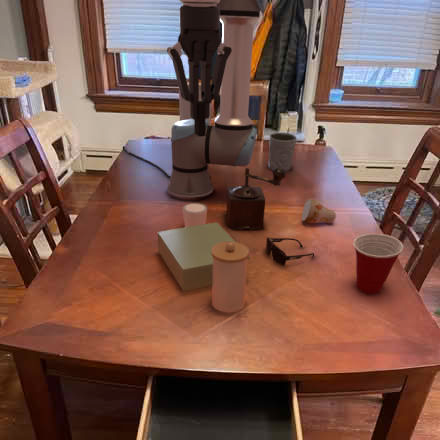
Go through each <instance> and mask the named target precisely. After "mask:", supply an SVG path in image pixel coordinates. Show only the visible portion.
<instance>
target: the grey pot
mask: <svg viewBox="0 0 440 440" xmlns="http://www.w3.org/2000/svg"><path fill="white" fill-rule="evenodd" d="M268 141H269V142H268V143H269V147H268V148H269V149H268V166H267V167H268V169H269V170H271V171H273V169H274V168H277V167H280V168H283V169H284V170H285V171H286V172H289V171H290V170H291V169H292V164H293V163H292V162H293V161H292V160H293V158H294V151H295V147H296V143H297V136H296V135H294V134H292V133H287V132H274V133H273V132H272V133H271V134H269V140H268Z"/></svg>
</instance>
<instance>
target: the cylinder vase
mask: <svg viewBox="0 0 440 440" xmlns="http://www.w3.org/2000/svg"><path fill="white" fill-rule="evenodd" d="M188 89H189V84H188ZM199 101H202V99H201V84H199ZM178 102H179V103H178V104H179V105H178V106H179V121H182V120H187V119H192V118H191V116H190V102H189V101H186V100H184V99H183V98H182V97H181V94H180V90H179V89H178ZM206 120H208V123H209V125H210V126H212V102H211V103H210V116H209V118H208V119H206Z"/></svg>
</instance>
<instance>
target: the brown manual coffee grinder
mask: <svg viewBox="0 0 440 440" xmlns="http://www.w3.org/2000/svg"><path fill="white" fill-rule="evenodd" d="M244 171H245V172H244V177H245V179H244V184H243V185H240V186H227V192H226V213H225V218H226V224H227V228H228V229H230V230H232V231H254V230H265V229H264V227H265V226H264V222H265V221H264V220H265V210H266V209H265V208H266V197H265V193H264V191H263V189H262V187H261V186H252V185H249V178H250V179H254V180H259V181H264V182H268V183H270V184H271V185H273V186H274V187H275V186H281V185H282V183H281V182H282V180H283V179H285V178H286V176H287V171H285V170H284V169H283V168H280V167H277V168H274V169H273V170H272V175H273V176H272V177H273V178H272V179H271V178H267V177H264V176H259V175H254V174H251V173H250V168H249V167H246V168H245V169H244Z"/></svg>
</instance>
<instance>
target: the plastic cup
mask: <svg viewBox="0 0 440 440" xmlns="http://www.w3.org/2000/svg"><path fill="white" fill-rule="evenodd" d="M352 244H353V248H354V250H355V273H356V275H355V285H356V288H357V289H358V290H359V291H361V292H362V293H365V294H368V295H369V294H370V295H375V294H379V293H380V292H381V291H382V288H383V287H384V285H385V283H386V281H387V279H388V277H389V275H390V273H391V270H392V269H393V266H394V265H395V263H396V261H397V259H398V257H399V255H400V254H401V253H403V252H402V251H403V249H404V245H403V243H402V241H401V240H399V239H398V238H397V237H394V236H391V235H389V234H383V233H365V234H361V235H358V236H357V237H355V238H354V240H353V241H352Z"/></svg>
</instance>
